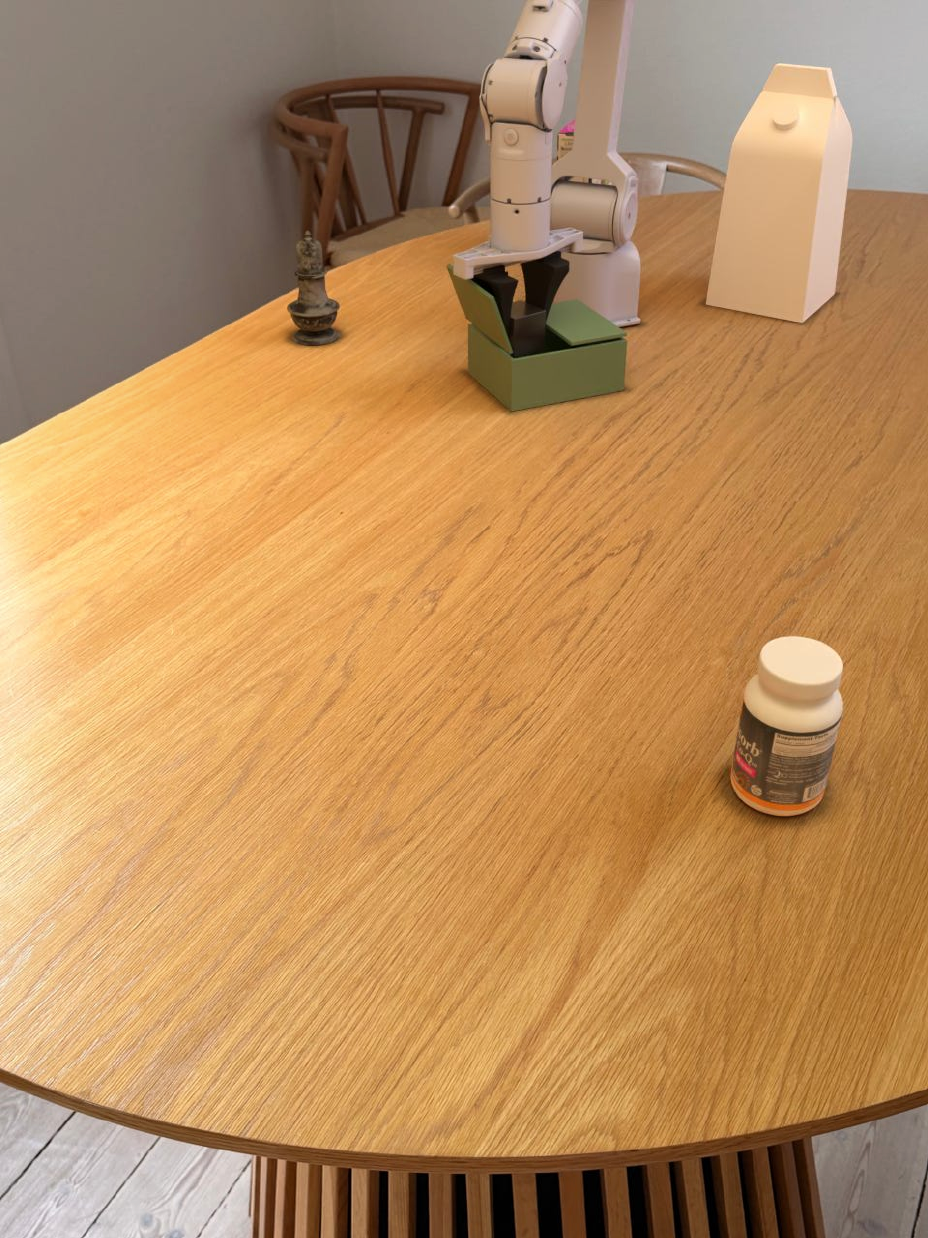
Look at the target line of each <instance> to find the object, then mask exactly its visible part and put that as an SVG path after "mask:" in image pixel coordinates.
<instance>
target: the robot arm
mask: <svg viewBox="0 0 928 1238" xmlns="http://www.w3.org/2000/svg"><path fill="white" fill-rule="evenodd" d="M582 2H583V0H526V2H525V4H524V6H523V9H522V11H521V14H520V16H519V18H518V21H517V24H516V26H515V28H514V30H513V33H512V35H511V38H510V40H509V43H508V45H507V47H506V49H505V52H504V54H503V57H499V58H497V59H496V60H495V61H494V62H491V63H489V64H488V65H487V66H486V68H485V70H484V73H483V75H482V79H481V85H480V95H479V109H480V115H481V117H482V121H483V125H484V140H485V143H486V146H488V147H490V185H489V186H490V189H489V190H490V191H489V192H490V195H489V196H490V200H489V201H490V210H489V211H490V213H489V215H490V218H489V219H490V220H489V221H490V222H489V224H490V225H489V227H490V228H489V230H490V231H489V234H488V236H487V240H485V241H484V242H482V243H480V244H478V245H475V246H473V247H471V248H469V249H467V250H465V251H462V252H459V253H455V254H453V255H452V266H453V274H454V275H456V276H458V277H460V278H462V279H465V280H467V279H471V280H472V281H473V282H475V283H476V284H477V285H479V286H480V287H481V288H483V289H484V290H485V291H487V292H488V293H489V294H491V295H492V296H493V297H494V299H495V302H496V305H497V308H498V311H499V313H500V316H501V319H502V322H503V325H504V328H505V331H506V333H507V336H508V339H509V335H510V327H511V309H512V303H513V302H514V298H515V293H516V291H517V288H518V284H519V282H520V280H519V279H517V278H515V277H512V276H510V275H509V271H508V270H507V271H506V268H507V267H511V266H516V265H519V264H520V266H521V267H520V268H521V271H522V278H523V284H524V295H525V296H524V299H525V300H524V301H525V302H527V303H530V304H532V305H534V306H536V307H539V308H541V309H543V310H545V311H546V322H547V319H548V315H549V312H550V309H551V306H552V303H557V302H563V301H569V300H575V299H578V300H579V301H580V302H582V303H583V304H585V305H586V306H588V307H589V308H591V309H592V310H594V311H595V312H597V313H598V314H600V315H601V316H603V317H604V318H606V319H607V320H609V321H610V322H612V323H613V324H615V325H616V326H618V327H619V328H622V327H628V326H634V325H639V324H640V323H641V318H639V317H638V313H639V299H640V286H641V273H642V265H641V257H640V253H639V250H638V248H637V245H635V244H634V242H633V241H632V240H631V238H632V237H633V234H634V231H635V228H636V224H637V219H638V211H639V201H638V187H639V186H638V185H639V179H638V174H637V173H636V171H635V170H634V168H633V167H632V166H631V165H630V164H629V163H628V162H626V160H625V159H624V158H623V157H622V156H621V155H620V154H619V153H618V151H617V148H618V142H619V141H618V140H619V133H620V124H621V117H622V116H621V115H622V109H623V108H622V107H623V99H624V90H625V85H626V84H625V83H626V76H627V75H626V74H627V67H628V59H629V52H630V51H629V50H630V43H631V34H632V27H633V26H632V25H633V19H634V11H635V4H636V0H588V1H587V11H586V20H585V29H584V36H583V37H584V38H583V47H582V56H581V63H580V64H581V65H580V74H579V82H578V83H579V84H578V93H577V101H576V110H575V118H574V119H575V127H574V136H573V145H572V150H571V151H570V152H569V153H567V154H566V155H565V156H563V157H562V158H560V159H559V160H557V159H556V161H555V162H553V135H554V128H556V126H557V124H558V123H559V121H560V118H561V116H562V112H563V108H564V101H565V95H566V88H567V85H568V80H569V76H568V72H567V68H568V65H569V63H570V60H571V58H572V55H573V53H574V51H575V48H576V46H577V43H578V41H579V37H580V35H581V33H582V31H583V27H584V18H583V14H582V11H581V9H580V5H581V4H582ZM552 162H553V163H552ZM573 177H582V178H592V179H601V180H607V181H610V182H612V183H613V185H605V184H595V183H586V182H576V181H569V180H570V179H571V178H573ZM545 325H546V324H545Z"/></svg>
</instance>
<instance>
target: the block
mask: <svg viewBox="0 0 928 1238" xmlns="http://www.w3.org/2000/svg"><path fill="white" fill-rule="evenodd" d="M545 324H546V311H545V310H543V309H541V308H539V307H536V306H534V305H532V304H530V303H527V302H525V300H523V299H519V300H515V301H513V303H512V309H511V327H510V335H509V342H510V345H511V348H512V351H513V353H512V354H509V353H508V354H509V355H510V356H512V357H518V356H521V355H524V354H528V353H531V352H535V351H538V350H542V349H545ZM491 340H492V339H491ZM492 341H493V340H492ZM493 342H494V341H493ZM494 343H495V342H494ZM495 344H496V343H495ZM497 345H498V344H497ZM498 346H499V345H498ZM499 347H500V346H499ZM500 348H501V347H500ZM502 349H503V348H502ZM503 350H504V349H503ZM504 351H505V350H504ZM505 352H506V351H505ZM506 353H507V352H506Z"/></svg>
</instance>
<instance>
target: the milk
mask: <svg viewBox="0 0 928 1238" xmlns="http://www.w3.org/2000/svg"><path fill="white" fill-rule="evenodd" d="M853 140H854V139H853V130H852V126H851V123H850V121H849V119H848V117H847V115H846V112H845V110H844V108H843V105H842V102H841V100H840V98H839V97H838V92H837V87H836V83H835V79H834V75H833V71H832V68H831V67H823V66H813V65H802V64H791V63H782V62H781V63H780V62H778V63H777V64H775V65H774V66H773V67H772V70H771V72H770V74H769V76H768V78H767V80H766V82H765V83H764V86H763V88H762V91H761V92H760V93H759V94H758V96H757V97H756V100H755V101H754V103H753V105H752V106H751V108H750V109H749V111H748V113H747V115H746V117H745V118H744V120H743V121H742V123H741V125H740V127H739V128H738V131H737V132H736V134H735V136H734V138H733V141H732V144H731V147H730V151H729V158H728V164H727V170H726V177H725V182H724V189H723V193H722V194H723V195H722V201H721V206H720V212H719V218H718V219H719V220H718V226H717V232H716V237H715V244H714V250H713V255H712V256H713V257H712V261H711V269H710V273H709V274H710V276H709V281H708V287H707V294H706V299H705V305H706V306H711V307H716V308H722V309H728V310H731V311H738V312H742V313H747V314H751V315H752V314H753V315H757V316H761V317H762V316H763V317H768V318H774V319H779V320H782V321H783V320H784V321H789V322H794V323H800V324H804V323H805V322H806V321H807V320H808V319H809V318H810V317H811V316H812V315H813V314H815V313H816V312H817V311H818V310H819V309H820V308H821V307H823V306H824V304H826V303H827V302H828V301H829V300H830V299H831V298H833V297H834V296H835V294H836V288H837V278H838V269H839V261H840V253H841V244H842V235H843V229H844V228H843V227H844V220H845V219H844V218H845V210H846V203H847V195H848V194H847V193H848V187H849V186H848V184H849V176H850V167H851V159H852V150H853Z"/></svg>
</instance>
